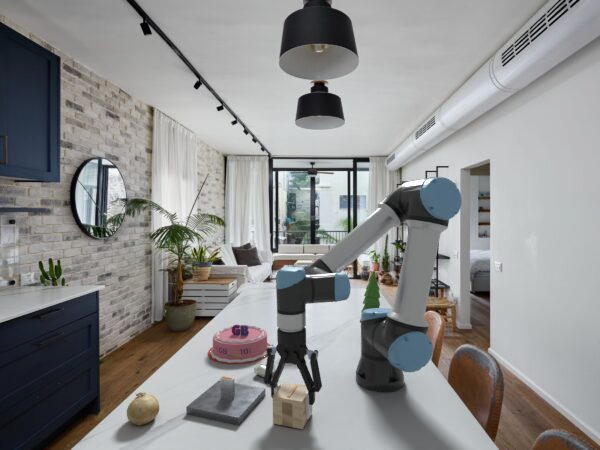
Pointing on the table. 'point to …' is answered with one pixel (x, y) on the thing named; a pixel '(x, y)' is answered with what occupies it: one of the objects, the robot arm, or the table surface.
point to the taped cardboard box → (290, 405)
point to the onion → (142, 409)
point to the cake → (239, 345)
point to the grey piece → (226, 401)
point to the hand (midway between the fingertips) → (293, 412)
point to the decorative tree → (371, 294)
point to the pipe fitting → (262, 370)
